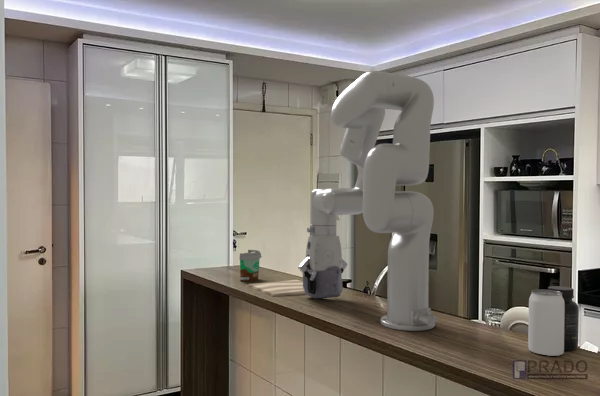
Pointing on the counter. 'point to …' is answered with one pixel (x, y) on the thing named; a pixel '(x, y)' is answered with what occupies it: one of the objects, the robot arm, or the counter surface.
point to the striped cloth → (280, 288)
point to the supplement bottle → (569, 317)
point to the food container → (249, 265)
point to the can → (546, 322)
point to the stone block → (326, 283)
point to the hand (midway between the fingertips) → (323, 291)
